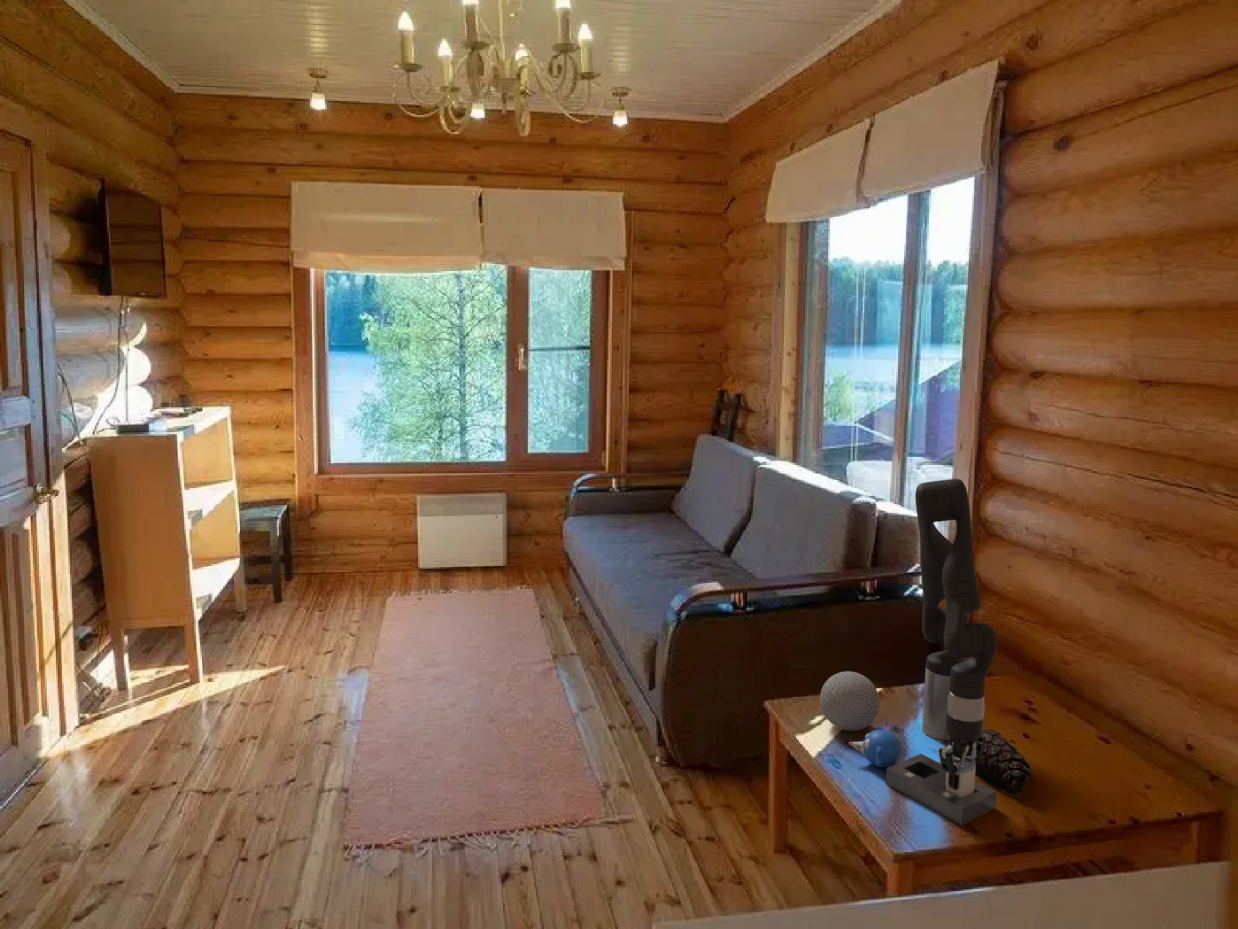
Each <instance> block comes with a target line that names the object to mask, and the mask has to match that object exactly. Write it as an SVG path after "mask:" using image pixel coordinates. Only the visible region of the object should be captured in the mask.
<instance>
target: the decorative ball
mask: <svg viewBox="0 0 1238 929" xmlns="http://www.w3.org/2000/svg"><path fill="white" fill-rule="evenodd" d="M819 703H820V704H819V705H820V707H821V711H822V713H823V715H824V716H825V718H826V719H827V721H829V723H831V724H832V725H833V726H834V727H836V728H837V729H840V730H842V731H846V732H847V731H849V732H855V731H856V732H857V731H860V730H863V729H865V728H866V729H867V727H869V726H870V725H871V724H872V723H873V722H874V721H875V719H876V718H877V716H878V713H879V710H880V704H881V703H880V694H879V691H878V690H877V688H876V686H875V685H874V684H873V682H872V681H871V680H870V679H869V678H868V677H866V676H864V675H863V674H861V673H858V672H855V671H841V672H838V673H835V674H833V675H831V676H830V677H828V679H827V680H826V681H825V682H824V684H823V686H822V688H821V690H820V694H819Z"/></svg>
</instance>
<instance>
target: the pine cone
mask: <svg viewBox="0 0 1238 929" xmlns="http://www.w3.org/2000/svg"><path fill="white" fill-rule="evenodd" d="M982 735H983V736H985V737H986V742H985V746H984V750H983V753H982V757H981V761H980V762H979V763H978V762H976V770H975V776H978V777H979V778H980V779H982V780H984V781H985V782H987V783H988V784H990V785H992V786H993V787H995V788H997V789H998V790H1000V791H1001V792H1003V793H1005V794H1007V795H1008V796H1011V797H1014V798H1016V799H1018V798H1020V796H1021V795H1023V793H1024V787H1025V786H1026V785H1027V784H1028V782H1029V781H1030V777H1031V776H1032V767H1031V765H1030V764H1029V762H1028V761H1027V760H1026V758H1025V756H1024V755H1023V753H1022V754H1021V753H1020V752H1019V751H1018V750H1017V748H1016V747H1015V746H1014V745H1013V744H1012V743H1010V741H1009V740H1008V739H1007V738H1006V737H1005V736H1003V735H1002V734H1001V733H999V732H997V731H995V730H992V729H983V733H982ZM977 753H978V751H977V750H976V755H977Z"/></svg>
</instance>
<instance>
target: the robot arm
mask: <svg viewBox="0 0 1238 929" xmlns="http://www.w3.org/2000/svg"><path fill="white" fill-rule="evenodd" d="M914 495H915V496H914V501H915V509H916V517H917V524H918V532H919V546H920V547H919V549H920V551H919V554H920V556H919V558H920V559H919V560H920V562H919V563H920V564H919V566H920V577H921V588H922V618H921V619H922V620H921V623H922V624H921V625H922V626H921V628H922V635H923V637H924V639H925V641H927V642H930V643H934V644H938V645H944V647H945V650H943V651H936V652H932V653H930V654H929V655H928V656H927V657H926V661H925V675H924V689H923V690H924V692H923V708H922V711H923V712H922V724H921V725H922V726H921V730H922V732H923V733H924V734H925V735H926V736H928V737H931V738H934V739H936V740H937V739H938V740H945V741H947V746H946V747H945V748H943V747H940V748H939V749H938V755H939V759H940V763H941V766H942V770H943V771H946V772H948V773H949V778H948V785H949V787H950V788H952V789H954V790H957V789H958V788H959V775H960V774H959V773H960V768H961V766H962V765H964V762H965V759H966V760H968V761H970V762H971V763H974V764H976V762H978V763H979V762H980V761H981V757H982V753H983V750H984V746H985V742H986V737H985V736H983V735H982V733H983V730H984V722H985V721H984V718H985V708H986V707H985V690H986V678H987V674H988V672H989V669H990V667H991V665H992V662H993V660H994V658H995V655H996V652H997V648H998V637H997V632H996V630H995V629H994V628H993V627H992V625H991V624H989V623H985V622H975V623H974V622H973V623H970V618H969V614H972V613H975V612H977V611H979V610H980V608H981V605H982V602H981V597H980V591H979V586H978V581H977V575H976V570H975V569H976V568H975V563H974V546H973V545H974V543H973V542H974V541H973V531H972V530H973V529H972V519H971V508H970V507H971V506H970V501H969V500H970V499H969V494H968V491H967V487H966V485H965V483H964V481H963V480H962V479H960V478H950V479H942V480H933V481H926V482H922V483H920V484H919V483H918V485H917V487H916V489H915V494H914ZM947 521H948V522H949V521H955V523H956V532H955V537H954V540H953V542H951V541H950V540H949V539H948V538H947V537H946V536H944V535H943V534H942V533H941V532H940V531H939V529H938V528H937V527H936V525H935V523H940V522H947ZM944 599H945V605H946V607H943V606H942V607H940V606H939V605H940V603H941V602H942V601H943V600H944ZM966 658H968V659H967V660H966ZM976 750H977V751H978V753H977V755H976ZM956 757H958V758H960V760H959V759H957V758H956ZM953 762H954V763H956V768H955V767H954V763H953Z"/></svg>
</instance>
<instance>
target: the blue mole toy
mask: <svg viewBox="0 0 1238 929" xmlns="http://www.w3.org/2000/svg"><path fill="white" fill-rule="evenodd" d="M848 745H849V746H850V747H853V748H854V749H856V750H857V751H859V752H860V753H861V755H863V756H864V757H865V759H866V760H867V761H868V762H869V763H870V764H872V765H874V766H875V767H879V768H888V767H891V766H893V765H895V764H897V762H898V760H899V758H900V756H901V755H900V754H901V747H900V746H901V745H900V742H899V740H898V738H897V736H895V735H894V734H893V733H891V732H890V731H888V730H884V729H875V730H873V731H870V732H869V733H867V734H866V735H865V738H864V739H863V741H849V742H848Z"/></svg>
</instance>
